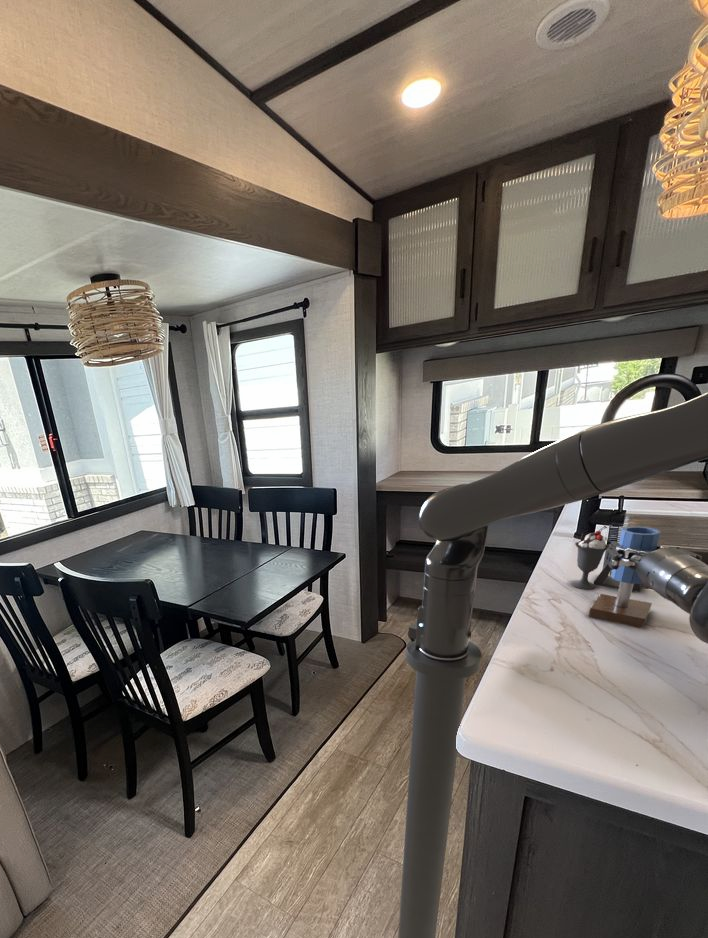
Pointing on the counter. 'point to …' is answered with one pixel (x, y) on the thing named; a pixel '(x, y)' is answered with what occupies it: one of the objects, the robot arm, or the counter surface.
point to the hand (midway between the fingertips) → (630, 546)
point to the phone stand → (612, 580)
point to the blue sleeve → (640, 540)
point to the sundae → (589, 556)
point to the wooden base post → (621, 607)
